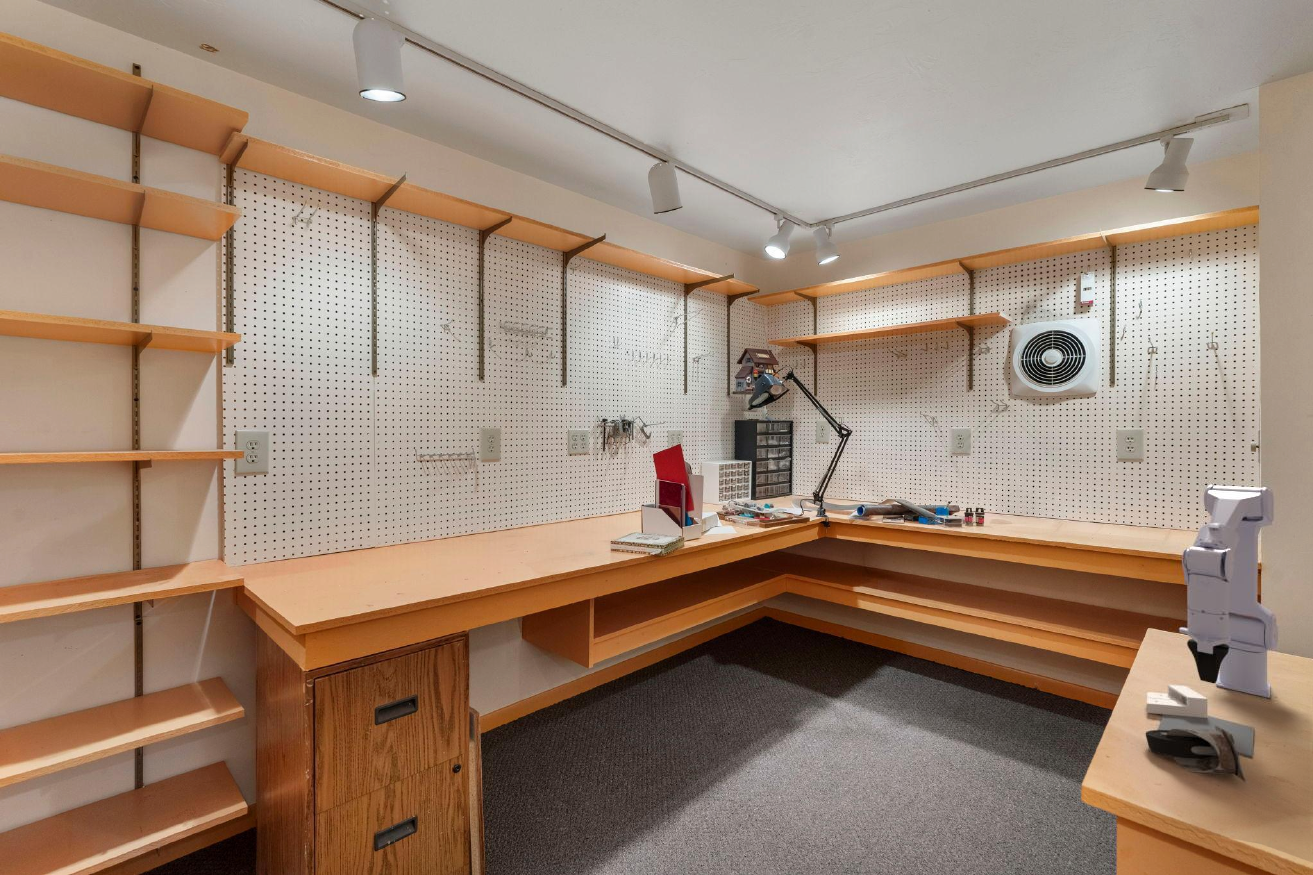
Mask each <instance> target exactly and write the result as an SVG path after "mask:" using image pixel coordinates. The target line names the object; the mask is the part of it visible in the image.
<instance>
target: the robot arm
mask: <svg viewBox="0 0 1313 875" xmlns="http://www.w3.org/2000/svg"><path fill="white" fill-rule="evenodd" d="M1203 504H1204V509H1205V510H1206V512H1208V514H1209V515H1210V523H1207V524H1204V525H1203V526H1202V527H1200V529H1199V530H1198V533H1197V536H1196V538H1195V540H1194V542H1193V545H1192V546H1189V548H1188V547H1186V548H1184V550H1183V552H1182V558H1181V564H1182V566H1181V567H1182V571H1183V575H1184V576H1183V577H1184V578H1183V580H1184V584H1185V585H1187V586H1186V587H1187V589H1186V590H1187V591H1186V592H1187V595H1186V596H1187V597H1186V598H1187V600H1186V601H1187V607H1186V608H1187V627H1182V626H1181V627H1179V628H1178V629H1179V633H1181V634H1185V635H1187V636H1188V637H1189V638H1190V639H1188V640H1187V643H1186V646H1187V647H1188V650H1190V653H1191V655H1192V657H1193V658H1194V661H1195V662H1194V663H1195V664H1196V665H1195V666H1196V670H1197V673H1198V677H1199V680H1200V681H1201V682H1206V683H1211V684H1215V686H1217V687H1220V688H1224V689H1229V690H1233V691H1237V692H1241V693H1245V694H1250V695H1256V696H1259V697H1264V698H1271V683H1270V682H1268V652H1269V651H1271V652H1272V651H1273V650H1275V649H1276V648H1277V646H1278V639H1279V630H1278V629H1279V628H1278V625H1277V617H1276V615H1275V613H1274V612H1272V611H1271V610H1270V609H1268V608H1266V607H1265V606H1264V605H1263V604H1261V603H1260V602H1258V588H1259V587H1258V581H1259V580H1258V578H1259V576H1258V575H1259V534H1260V531H1261V530H1262V528H1263V527H1267V526H1272V525H1273V521H1274V516H1275V515H1274V511H1275V510H1274V509H1275V506H1274V504H1275V500H1274V493H1273V491H1272V490H1271V489H1270V488H1269V487H1265V486H1264V487H1253V486H1251V487H1250V486H1249V487H1248V486H1231V485H1227V486H1226V485H1215V484H1209V485H1208V486H1207V487H1206V488H1205V490H1204V495H1203Z"/></svg>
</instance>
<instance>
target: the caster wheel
mask: <svg viewBox="0 0 1313 875" xmlns="http://www.w3.org/2000/svg"><path fill="white" fill-rule="evenodd" d="M1215 729H1216V731H1211V730H1193V729H1171V730H1158V729H1154V730H1153V729H1152V730H1148V731H1146V732H1145V737H1146V742H1147V746H1148V748H1149V750H1151V751H1152V752H1153V753H1157V754H1160V755H1165V756H1169V757H1172V758H1173V760H1175V761H1176V763H1177V764H1178V765H1179V766H1181V767H1183V768H1184V769H1186V770H1188V771H1190V772H1195V773H1207V774H1217V775H1219V774H1220V775H1232V776H1233V775H1234V776H1235V777H1237V778H1239V779H1240V780H1242V781H1243V782H1246V778H1245V775H1244V772H1243V768H1242V765H1241V761H1240V756H1239V755H1238V753H1237V749H1236V746H1235V742H1234V739H1233V736H1232V734H1231V733H1229V732H1227V731H1225V730H1223V729H1221V728H1220V727H1218V726H1216V725H1215ZM1211 745H1212V747H1211Z"/></svg>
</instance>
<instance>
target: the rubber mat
mask: <svg viewBox="0 0 1313 875" xmlns="http://www.w3.org/2000/svg"><path fill="white" fill-rule="evenodd" d="M1215 725H1216V726H1218V727H1220V728H1221V729H1223V730H1225V731H1227V732H1229V733H1231V734H1232V736H1233V739H1234V742H1235V746H1236V749H1237V753H1238V756H1242V757H1246V758H1249V759H1253V754H1254V752H1253V751H1254V738H1255V727H1253V726H1249V725H1246V724H1241V723H1239V722H1238V723H1237V722H1233V721H1230V720H1225V719H1222V718H1218V717H1215V716H1210V715H1207V718H1203V717H1191V716H1179V715H1167V714H1162V718H1161V721H1160V723H1159V725H1158V728H1157V730H1171V729H1193V730H1211V731H1216V729H1215ZM1211 747H1212V745H1211Z"/></svg>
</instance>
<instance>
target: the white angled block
mask: <svg viewBox="0 0 1313 875" xmlns="http://www.w3.org/2000/svg"><path fill="white" fill-rule="evenodd" d="M1146 695H1147V697H1146V713H1147V714H1156V715H1157V714H1158V715H1164V714H1167V715H1179V716H1191V717H1203V718H1207V716H1208V698H1207V697H1205V696H1203V695H1202V694H1200V693H1199V692H1198V691H1197V692H1196V691H1195V690H1194V689H1191V688H1190V687H1189V686H1187V685H1177V684H1173V685H1172V684H1167V693H1162V692H1152V691H1151V692H1150V691H1148V692H1147V694H1146Z"/></svg>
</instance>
